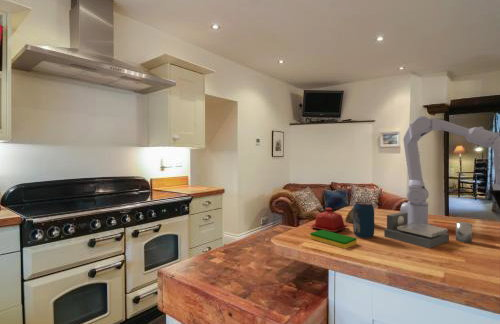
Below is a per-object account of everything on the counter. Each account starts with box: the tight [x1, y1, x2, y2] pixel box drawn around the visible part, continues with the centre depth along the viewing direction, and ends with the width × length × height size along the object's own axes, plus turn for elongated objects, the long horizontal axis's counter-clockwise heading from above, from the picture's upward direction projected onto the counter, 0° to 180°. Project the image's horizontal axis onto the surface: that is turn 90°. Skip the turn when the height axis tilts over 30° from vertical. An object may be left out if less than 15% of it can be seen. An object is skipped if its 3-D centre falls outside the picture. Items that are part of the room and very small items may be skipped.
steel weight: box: [455, 221, 473, 244], centre depth 94 cm, size 4×4×6 cm
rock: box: [345, 200, 375, 225], centre depth 120 cm, size 11×9×10 cm
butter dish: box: [310, 207, 349, 233], centre depth 111 cm, size 12×12×8 cm
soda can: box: [352, 201, 375, 239], centre depth 100 cm, size 7×7×12 cm
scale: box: [383, 212, 450, 249], centre depth 97 cm, size 15×13×8 cm
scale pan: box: [397, 222, 449, 237], centre depth 95 cm, size 12×11×1 cm
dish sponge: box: [309, 229, 358, 249], centre depth 95 cm, size 7×14×2 cm, turn 39°
